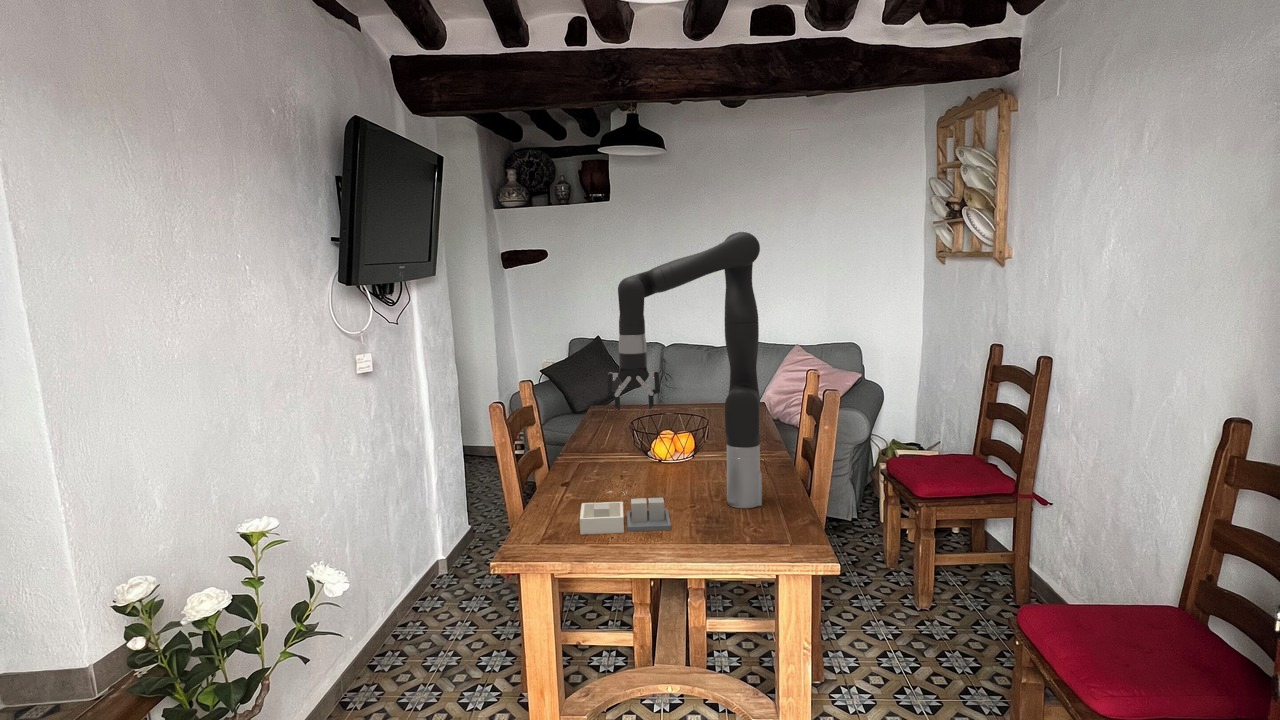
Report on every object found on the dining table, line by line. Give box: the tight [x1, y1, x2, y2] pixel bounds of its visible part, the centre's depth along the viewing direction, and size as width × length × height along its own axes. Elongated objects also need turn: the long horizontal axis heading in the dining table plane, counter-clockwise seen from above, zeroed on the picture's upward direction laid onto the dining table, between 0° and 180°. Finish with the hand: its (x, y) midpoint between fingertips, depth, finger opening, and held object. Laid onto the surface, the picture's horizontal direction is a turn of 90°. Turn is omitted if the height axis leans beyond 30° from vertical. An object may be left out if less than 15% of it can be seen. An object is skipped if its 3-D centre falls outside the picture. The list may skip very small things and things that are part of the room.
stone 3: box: [647, 497, 665, 521], centre depth 190 cm, size 4×4×5 cm
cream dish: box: [579, 501, 625, 535], centre depth 187 cm, size 11×12×5 cm
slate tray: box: [626, 508, 672, 533], centre depth 188 cm, size 11×12×2 cm
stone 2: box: [630, 497, 648, 522], centre depth 190 cm, size 4×4×5 cm
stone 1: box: [594, 504, 610, 517], centre depth 187 cm, size 4×4×5 cm
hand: (634, 409), depth 198 cm, fingers open, 8 cm apart
